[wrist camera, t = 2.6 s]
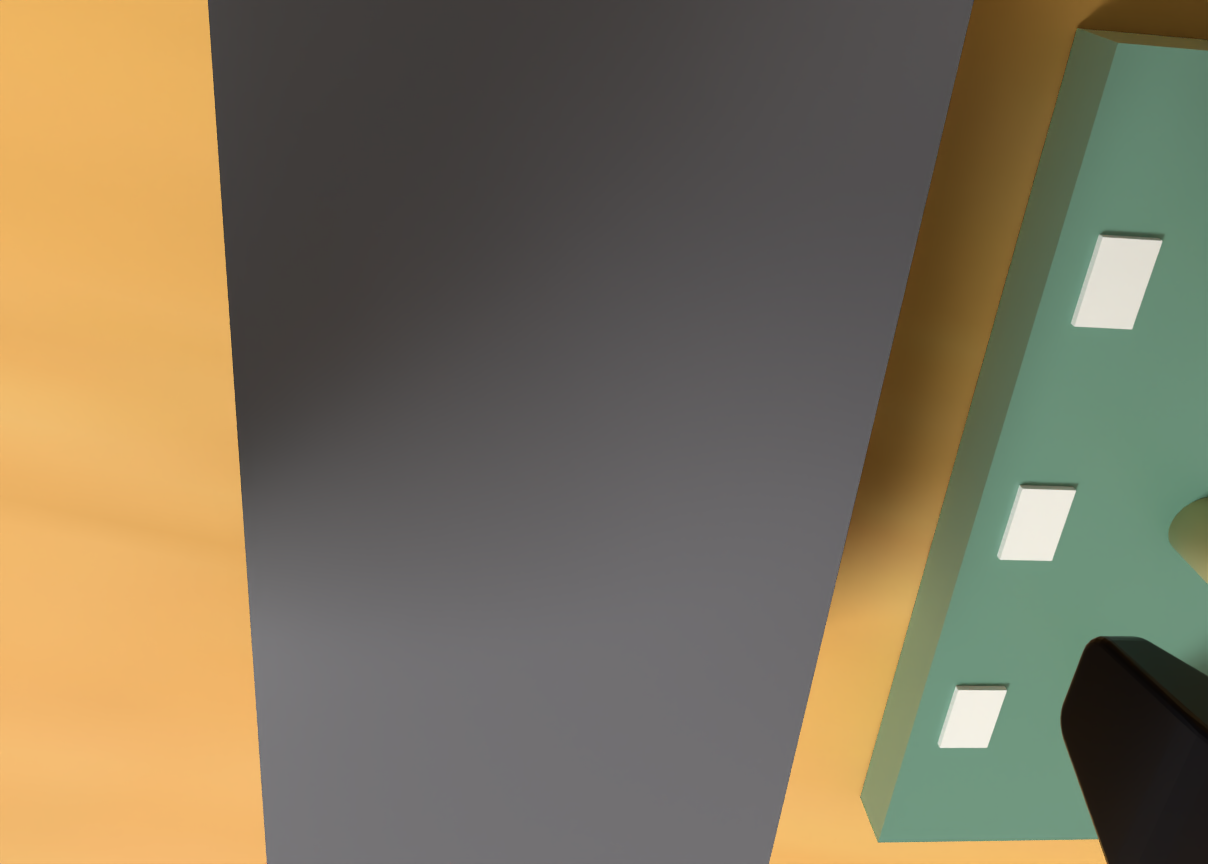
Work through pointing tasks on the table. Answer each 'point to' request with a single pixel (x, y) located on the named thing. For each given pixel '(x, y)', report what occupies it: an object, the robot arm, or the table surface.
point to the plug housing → (556, 401)
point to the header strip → (1067, 462)
